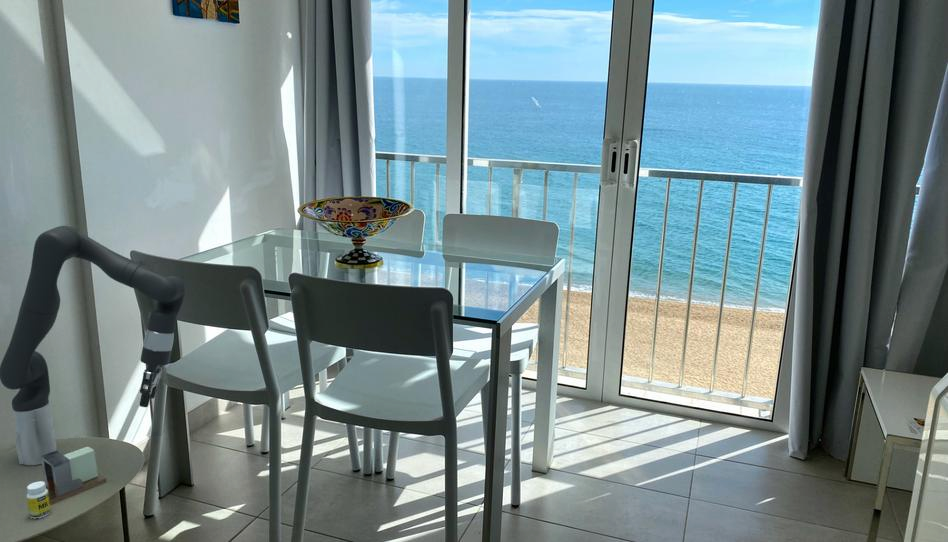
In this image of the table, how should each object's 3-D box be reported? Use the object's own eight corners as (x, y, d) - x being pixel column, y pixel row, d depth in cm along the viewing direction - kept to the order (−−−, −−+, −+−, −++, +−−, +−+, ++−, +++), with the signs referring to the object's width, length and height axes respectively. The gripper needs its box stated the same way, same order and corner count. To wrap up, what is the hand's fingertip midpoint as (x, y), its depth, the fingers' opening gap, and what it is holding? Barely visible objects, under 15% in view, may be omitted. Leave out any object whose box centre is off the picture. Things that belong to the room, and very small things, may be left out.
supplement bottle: (41, 520, 181) (36, 491, 179) (25, 518, 182) (20, 489, 180) (55, 510, 185) (50, 481, 183) (40, 508, 186) (35, 479, 184)
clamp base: (92, 472, 204) (87, 439, 202) (106, 482, 199) (101, 448, 196) (35, 494, 193) (29, 459, 190) (48, 505, 187) (42, 469, 185)
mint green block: (91, 471, 202) (87, 446, 200) (98, 476, 199) (94, 450, 197) (61, 483, 196) (57, 457, 194) (68, 488, 193) (63, 461, 191)
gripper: (148, 339, 203) (138, 393, 204) (137, 349, 189) (126, 407, 190) (176, 343, 205) (165, 397, 206) (167, 354, 191) (155, 411, 192)
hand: (147, 402), depth 198 cm, fingers open, 8 cm apart
